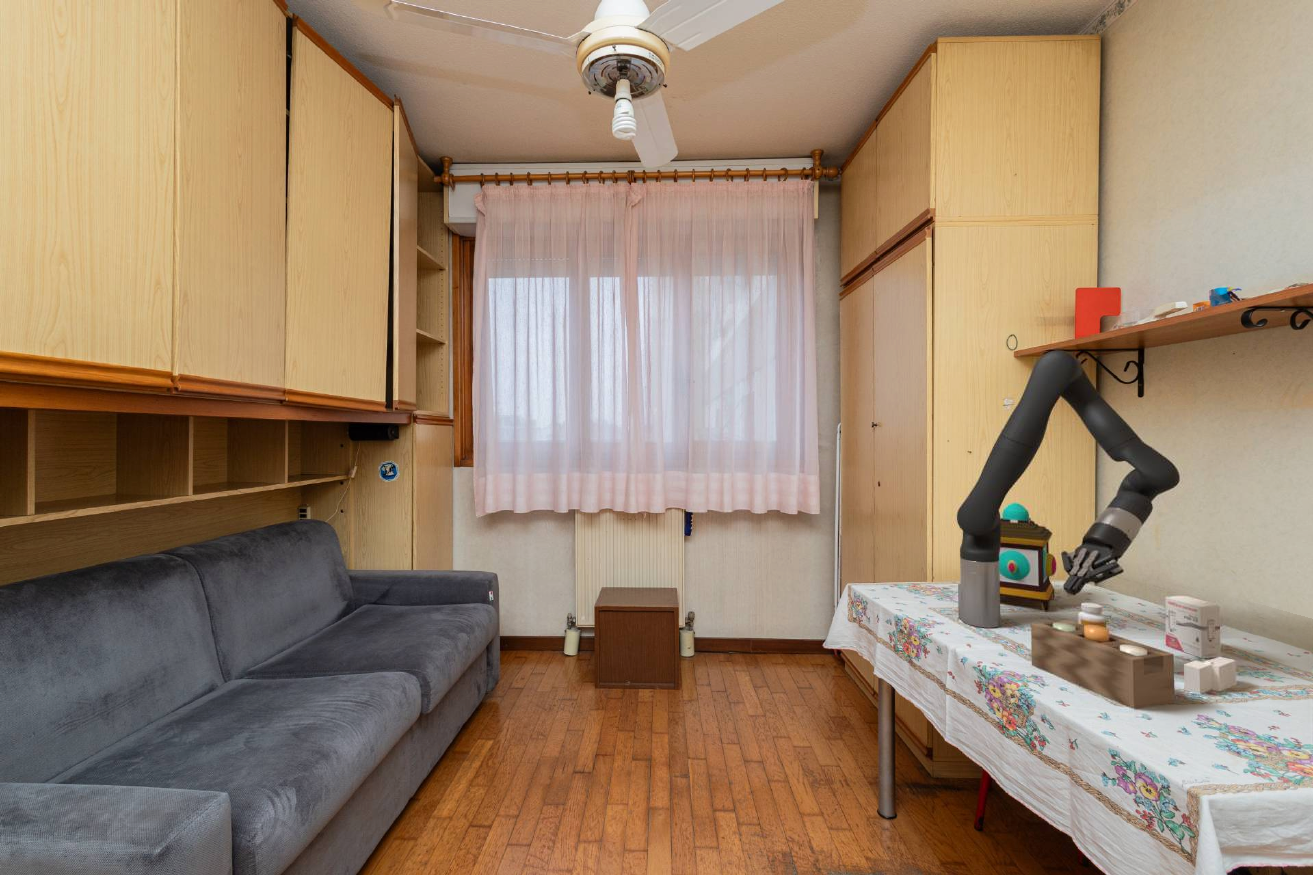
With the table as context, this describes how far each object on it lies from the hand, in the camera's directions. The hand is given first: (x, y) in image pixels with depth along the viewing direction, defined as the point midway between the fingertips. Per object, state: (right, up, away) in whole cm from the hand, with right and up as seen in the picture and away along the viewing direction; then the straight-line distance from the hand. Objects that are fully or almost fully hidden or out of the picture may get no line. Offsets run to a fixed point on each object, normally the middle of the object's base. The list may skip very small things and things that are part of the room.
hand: (1068, 592), depth 121 cm
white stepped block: (+20, -17, -10) cm, 28 cm away
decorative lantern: (+21, -17, +50) cm, 57 cm away
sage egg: (-1, -10, 0) cm, 10 cm away
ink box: (+35, -16, +8) cm, 39 cm away
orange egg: (0, -8, -7) cm, 11 cm away
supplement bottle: (+15, -17, +13) cm, 26 cm away
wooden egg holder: (0, -16, -7) cm, 18 cm away
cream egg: (+2, -10, -14) cm, 17 cm away
